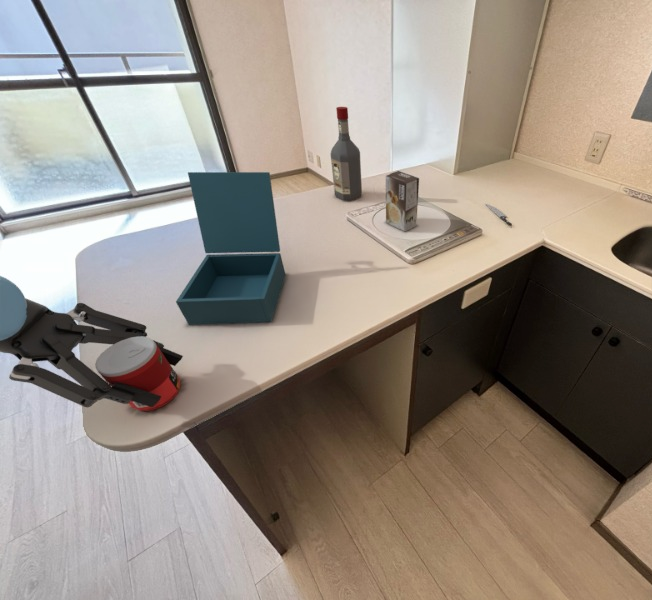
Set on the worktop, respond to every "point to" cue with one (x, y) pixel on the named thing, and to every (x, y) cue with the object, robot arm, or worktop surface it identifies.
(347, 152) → the liquor
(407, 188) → the coffee box
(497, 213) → the chef's knife
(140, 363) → the canned food
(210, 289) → the cool box
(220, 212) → the cooler lid
